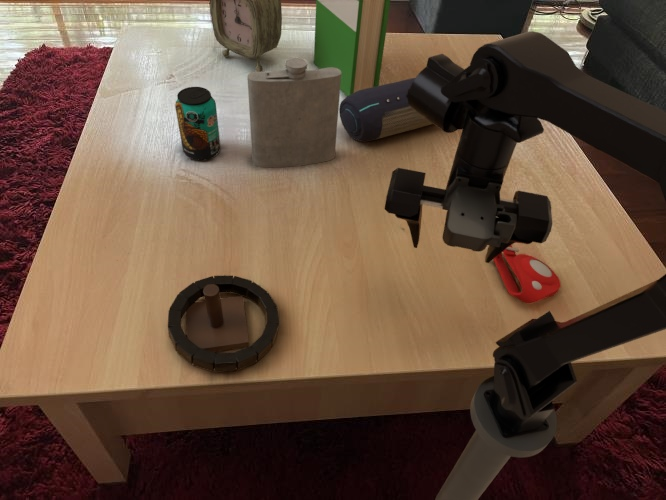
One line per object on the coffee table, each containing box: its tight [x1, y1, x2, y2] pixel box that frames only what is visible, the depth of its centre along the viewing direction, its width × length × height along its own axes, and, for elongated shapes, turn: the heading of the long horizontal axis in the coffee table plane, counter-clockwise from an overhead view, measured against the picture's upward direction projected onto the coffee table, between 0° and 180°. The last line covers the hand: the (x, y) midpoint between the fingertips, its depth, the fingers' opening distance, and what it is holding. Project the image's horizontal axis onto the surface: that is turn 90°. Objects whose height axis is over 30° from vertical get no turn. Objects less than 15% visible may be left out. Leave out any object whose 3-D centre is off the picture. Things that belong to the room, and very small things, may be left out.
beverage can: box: [174, 86, 221, 162], centre depth 96 cm, size 7×7×12 cm
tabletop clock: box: [209, 0, 283, 72], centre depth 117 cm, size 14×9×25 cm, turn 53°
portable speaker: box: [338, 77, 434, 143], centre depth 106 cm, size 25×10×10 cm, turn 118°
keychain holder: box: [493, 244, 562, 304], centre depth 81 cm, size 12×4×10 cm
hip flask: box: [247, 56, 341, 168], centre depth 93 cm, size 16×4×20 cm, turn 103°
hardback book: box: [313, 0, 391, 97], centre depth 115 cm, size 18×7×24 cm, turn 28°
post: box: [185, 284, 250, 353], centre depth 70 cm, size 8×8×8 cm
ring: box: [167, 275, 280, 373], centre depth 72 cm, size 15×15×2 cm
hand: (451, 252), depth 68 cm, fingers open, 9 cm apart
